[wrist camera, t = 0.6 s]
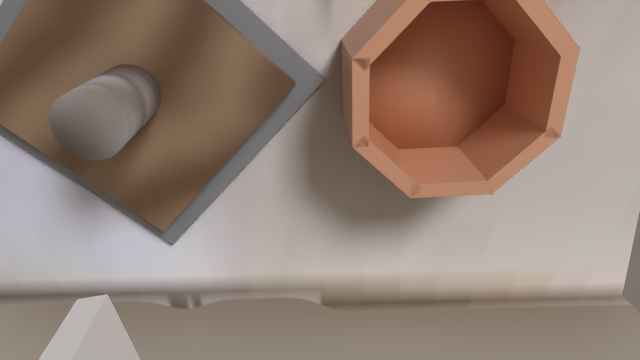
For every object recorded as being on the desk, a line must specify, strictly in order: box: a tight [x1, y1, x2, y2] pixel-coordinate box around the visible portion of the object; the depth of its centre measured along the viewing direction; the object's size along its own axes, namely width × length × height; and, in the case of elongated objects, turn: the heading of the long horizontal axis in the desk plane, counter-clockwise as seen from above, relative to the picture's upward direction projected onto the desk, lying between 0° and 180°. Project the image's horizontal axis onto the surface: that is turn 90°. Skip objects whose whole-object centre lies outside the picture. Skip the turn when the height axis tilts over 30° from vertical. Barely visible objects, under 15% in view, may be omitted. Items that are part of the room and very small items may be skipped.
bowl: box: [341, 0, 580, 198], centre depth 29 cm, size 13×13×7 cm
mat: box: [0, 0, 325, 245], centre depth 31 cm, size 19×19×1 cm
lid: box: [0, 0, 296, 231], centre depth 28 cm, size 16×16×8 cm
